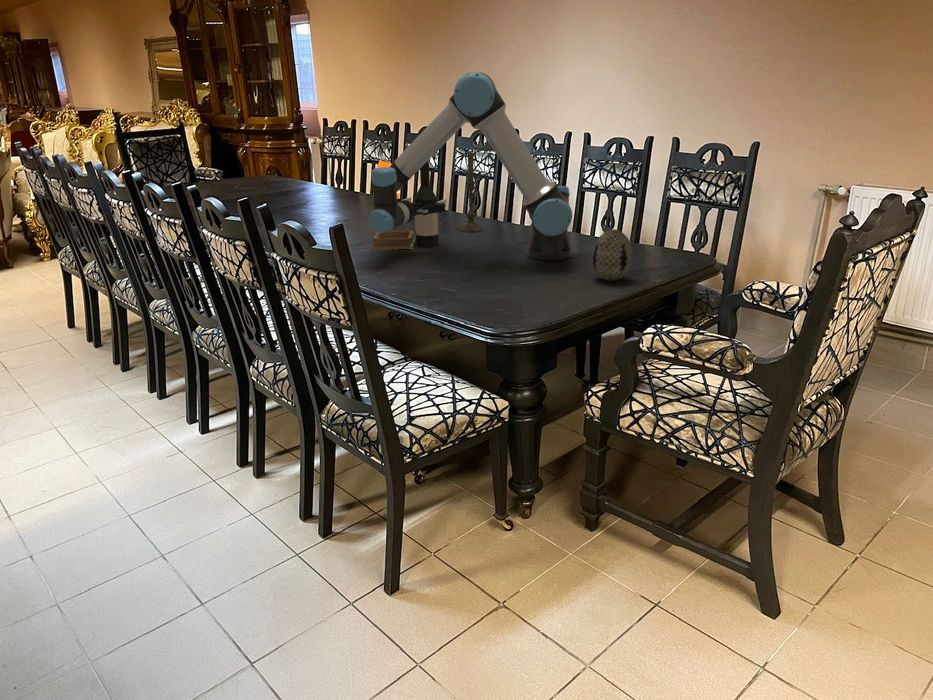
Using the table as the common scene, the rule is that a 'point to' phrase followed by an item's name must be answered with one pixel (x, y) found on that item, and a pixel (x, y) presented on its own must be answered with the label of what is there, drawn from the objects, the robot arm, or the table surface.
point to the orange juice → (386, 164)
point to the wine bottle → (428, 223)
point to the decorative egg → (612, 255)
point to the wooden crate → (393, 240)
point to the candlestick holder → (471, 199)
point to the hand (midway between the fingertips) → (427, 202)
